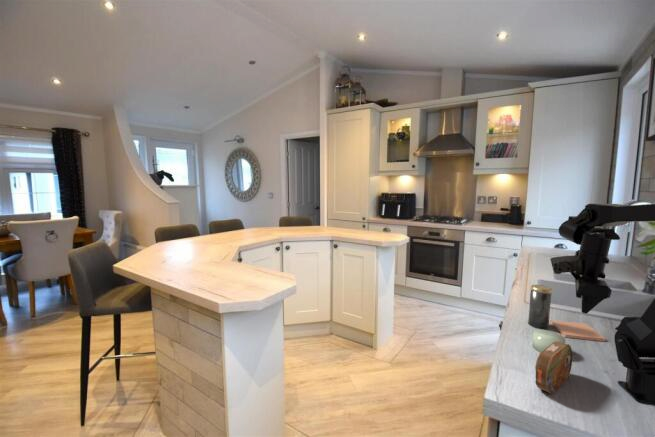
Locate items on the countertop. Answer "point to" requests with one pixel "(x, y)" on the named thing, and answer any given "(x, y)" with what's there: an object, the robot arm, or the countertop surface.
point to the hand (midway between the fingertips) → (581, 304)
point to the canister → (539, 306)
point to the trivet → (577, 330)
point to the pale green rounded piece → (545, 339)
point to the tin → (553, 366)
